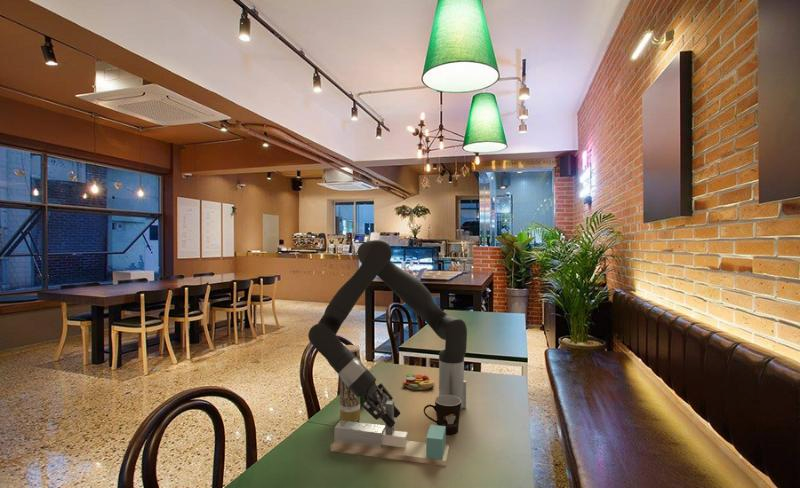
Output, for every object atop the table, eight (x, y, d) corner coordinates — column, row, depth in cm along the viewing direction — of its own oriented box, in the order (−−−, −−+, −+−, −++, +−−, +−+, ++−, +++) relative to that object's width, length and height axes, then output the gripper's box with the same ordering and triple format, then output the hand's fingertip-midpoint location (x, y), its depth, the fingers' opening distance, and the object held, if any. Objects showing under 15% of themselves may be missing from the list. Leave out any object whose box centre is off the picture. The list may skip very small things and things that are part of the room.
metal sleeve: (334, 443, 117) (334, 427, 117) (340, 435, 122) (340, 420, 122) (381, 449, 114) (381, 433, 114) (385, 440, 118) (385, 425, 118)
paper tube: (356, 425, 131) (356, 351, 131) (337, 423, 133) (336, 349, 132) (362, 416, 138) (362, 345, 138) (344, 414, 139) (343, 344, 139)
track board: (330, 450, 116) (330, 445, 116) (340, 437, 124) (340, 432, 123) (445, 466, 108) (445, 460, 108) (449, 450, 116) (449, 445, 116)
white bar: (343, 439, 117) (343, 400, 117) (347, 435, 120) (346, 396, 120) (405, 447, 113) (405, 406, 113) (407, 442, 116) (407, 402, 116)
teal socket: (426, 457, 109) (426, 437, 109) (430, 443, 117) (430, 424, 117) (442, 459, 108) (442, 439, 108) (445, 445, 116) (445, 426, 116)
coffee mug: (463, 426, 130) (463, 396, 130) (458, 439, 122) (458, 407, 122) (429, 421, 134) (429, 392, 134) (422, 433, 126) (422, 402, 126)
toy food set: (435, 392, 160) (435, 384, 160) (402, 392, 160) (402, 384, 160) (432, 380, 173) (432, 372, 173) (402, 380, 174) (402, 372, 174)
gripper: (357, 377, 110) (398, 423, 107) (372, 361, 124) (409, 402, 121) (339, 394, 111) (380, 440, 109) (356, 376, 125) (393, 417, 123)
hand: (395, 420), depth 115 cm, fingers open, 5 cm apart
